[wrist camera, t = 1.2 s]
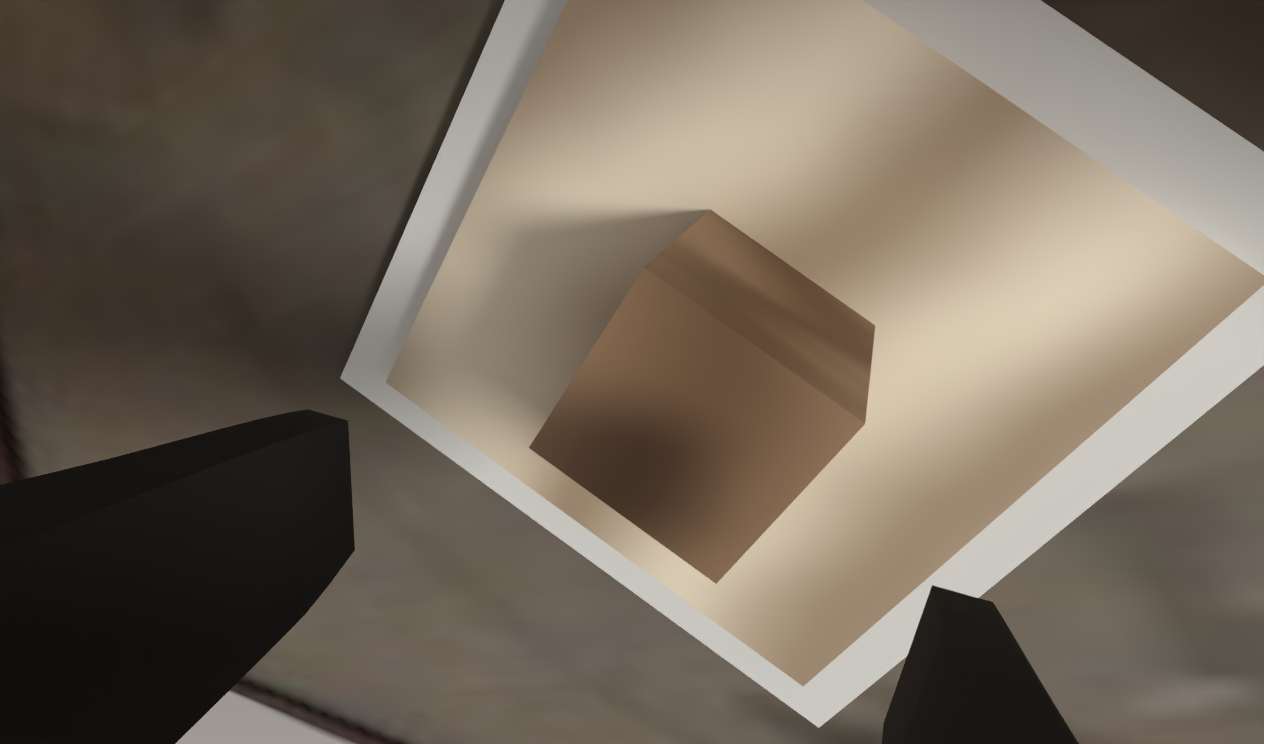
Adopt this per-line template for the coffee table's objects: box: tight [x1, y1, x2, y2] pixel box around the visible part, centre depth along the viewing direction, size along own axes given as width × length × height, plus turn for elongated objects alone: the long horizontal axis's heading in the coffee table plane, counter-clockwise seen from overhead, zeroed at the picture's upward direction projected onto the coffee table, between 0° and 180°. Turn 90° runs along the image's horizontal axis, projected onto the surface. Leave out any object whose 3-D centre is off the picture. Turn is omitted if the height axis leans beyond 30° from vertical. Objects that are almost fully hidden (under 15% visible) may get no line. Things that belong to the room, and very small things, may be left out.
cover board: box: [386, 0, 1264, 686], centre depth 15 cm, size 13×13×5 cm
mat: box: [340, 0, 1264, 727], centre depth 17 cm, size 16×16×1 cm
